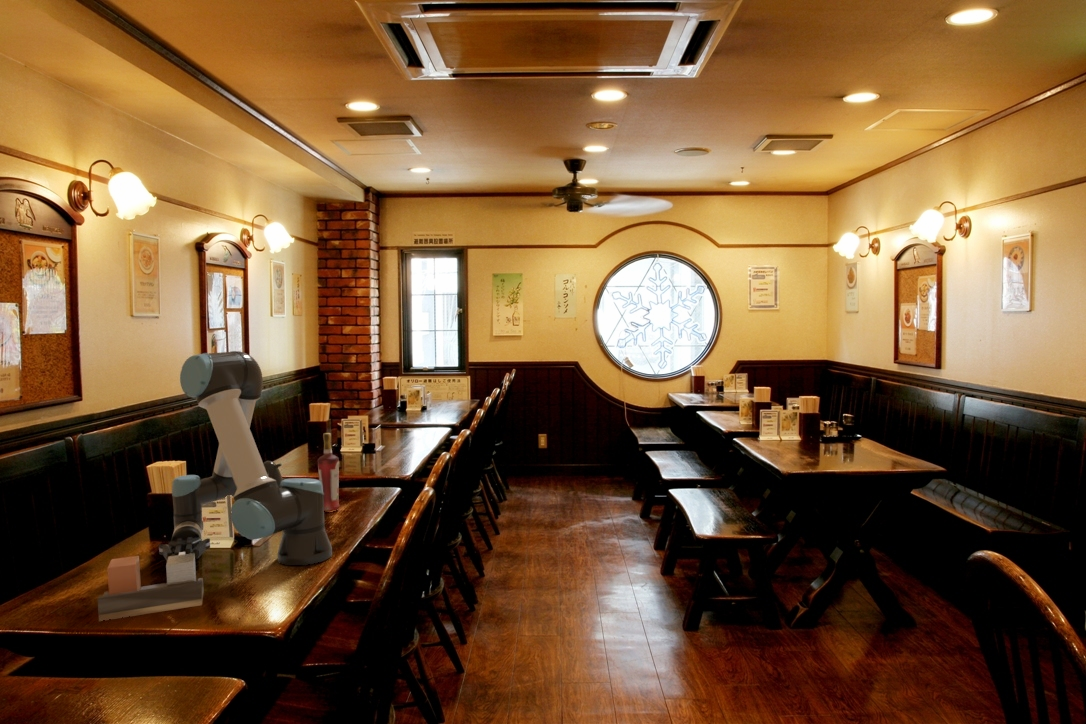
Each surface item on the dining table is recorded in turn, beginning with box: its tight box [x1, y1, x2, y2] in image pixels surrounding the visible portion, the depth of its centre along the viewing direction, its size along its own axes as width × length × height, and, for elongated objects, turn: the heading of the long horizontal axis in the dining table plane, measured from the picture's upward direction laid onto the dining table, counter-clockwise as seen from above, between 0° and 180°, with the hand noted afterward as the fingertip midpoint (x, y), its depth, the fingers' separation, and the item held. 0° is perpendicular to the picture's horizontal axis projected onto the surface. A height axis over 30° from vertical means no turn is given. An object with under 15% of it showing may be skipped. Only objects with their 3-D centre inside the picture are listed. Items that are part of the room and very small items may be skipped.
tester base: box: [97, 577, 204, 622], centre depth 182 cm, size 10×22×6 cm, turn 113°
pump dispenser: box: [263, 460, 283, 488], centre depth 280 cm, size 10×10×15 cm
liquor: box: [317, 432, 341, 511], centre depth 263 cm, size 7×7×28 cm
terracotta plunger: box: [106, 555, 142, 595], centre depth 183 cm, size 7×6×9 cm
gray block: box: [165, 553, 197, 586], centre depth 184 cm, size 7×6×9 cm
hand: (180, 564), depth 188 cm, fingers closed
